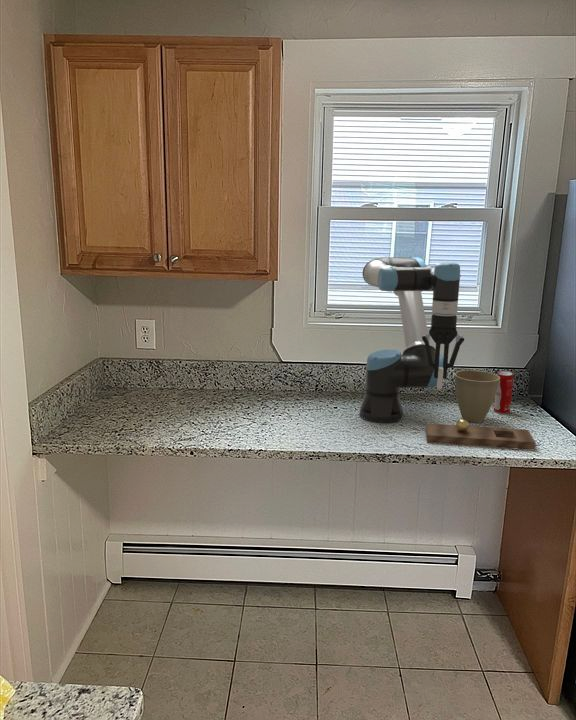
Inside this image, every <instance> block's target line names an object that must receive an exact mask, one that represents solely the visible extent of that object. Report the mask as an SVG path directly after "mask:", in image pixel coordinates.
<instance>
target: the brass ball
mask: <svg viewBox="0 0 576 720" xmlns="http://www.w3.org/2000/svg"><path fill="white" fill-rule="evenodd" d="M455 425H456V428H457V429H458V430H459V431H461V432H464V431H467V430H468V428H469V426H470V422H468V421H467V420H465V419H462V418H460V419H458V420H457V421H456V423H455Z"/></svg>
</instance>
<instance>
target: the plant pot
mask: <svg viewBox="0 0 576 720" xmlns="http://www.w3.org/2000/svg"><path fill="white" fill-rule="evenodd" d="M499 380H500V377H499V376H498V375H497V374H495V373H492V372H488V371H483V370H473V369H472V370H471V369H469V370H468V369H466V370H465V369H464V370H458V371H456V372H454V384H455V394H456V398H457V399H456V400H457V403H458V408H459V412H460V415H461V419H465V420H467V421H468V423H483V422H484V421H485V419H486V417H487V415H488V414H489V413H490V409H491V407H492V405H493V404H494V398H495V394H496V391H497V388H498V384H499Z"/></svg>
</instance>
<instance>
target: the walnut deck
mask: <svg viewBox="0 0 576 720" xmlns="http://www.w3.org/2000/svg"><path fill="white" fill-rule="evenodd" d="M425 437H426V443H427V444H428V443H430V444H441V445H442V444H443V445H444V444H445V445H458V446H469V447H470V446H471V447H472V446H473V447H485V448H496V449H497V448H498V449H499V448H500V449H511V448H518V449H517V450H524V449H536V441H535V439H534V438H533V436H532V434H531V432H530V431H529V430H528V429H519V428H503V427H491V426H478V425H477V426H474V425H469V428H468V430H467V431H464V432H461V431H459V430H458V429H457V428H456V424H446V423H431V422H427V423H425Z"/></svg>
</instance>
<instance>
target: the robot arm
mask: <svg viewBox="0 0 576 720" xmlns="http://www.w3.org/2000/svg"><path fill="white" fill-rule="evenodd" d="M362 278H363V280H364V282H365V283H366V284H368V285H369V286H370V287H375V288H378V289H379V290H380V291H382V292H393V294H394V295H395V296H397V297H398V303H399V310H400V317H401V324H402V328H403V330H402V331H403V337H404V344H405V349H404V350H403V351H402V353H401V351H400V350H397V349H382V350H376V351H373V352H371V353H369V355H368V356H367V358H366V365H365V370H366V374H365V375H366V376H365V394H364V398H363V400H362V402H361V404H360V408H359V416H360V415H361V416H360V418H362V417H363V418H365V419H364V420H366V419H367V420H366V421H368V420H370V421H369V422H372V421H374V422H373V423H380V422H381V423H383V424H384V423H387V424H388V423H396V422H399V421H401V420H402V419H403V418H404V417H403V416H404V410H403V406H402V402H401V399H400V389H406V388H407V389H408V388H409V389H411V388H414V389H418V388H419V389H421V388H424V389H427V388H436V390H443V380H445V379H447V375H448V370H449V369H450V368H453V367H454V365H455V362H456V359H457V357H458V354H459V351H460V348H461V346H462V344H463V343H464V341H465V338H464V336H461V335H460V334H458V331H457V321H458V316H457V315H456V314H458V306H459V305H458V304H459V294H460V293H459V292H460V281H461V266H460V264H459V263H456V262H455V263H454V262H438V263H435V265H434V266H427V264H426V262H425V260H423V259H422V258H420V257H415V256H408V257H406V256H405V257H404V256H403V257H401V256H399V257H398V256H397V257H395V256H393V257H392V256H391V257H388V256H384V257H383V256H381V257H377V258H376V257H375V258H374V259H372V260H369V261H368V262H367V263H366V264H365V265H364V267H363V268H362ZM422 292H432V304H431V313H432V315H431V319H430V320H431V322H430V323H431V324H430V329H429V330H428V323H427V319H426V318H427V317H426V313H425V308H424V302H423V301H424V300H423V295H422ZM431 338H432V341H433V342H434V343H435V346H434V345H432V344H431V342H430V340H431ZM454 340H455V344H454V347H453V350H452V353H451V356H450V358H449V352H450V351H449V350H450V344H451V343H452V342H453V341H454ZM441 345H443V355H442V354H440V353H441ZM449 359H450V360H449ZM363 418H362V419H363Z"/></svg>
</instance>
